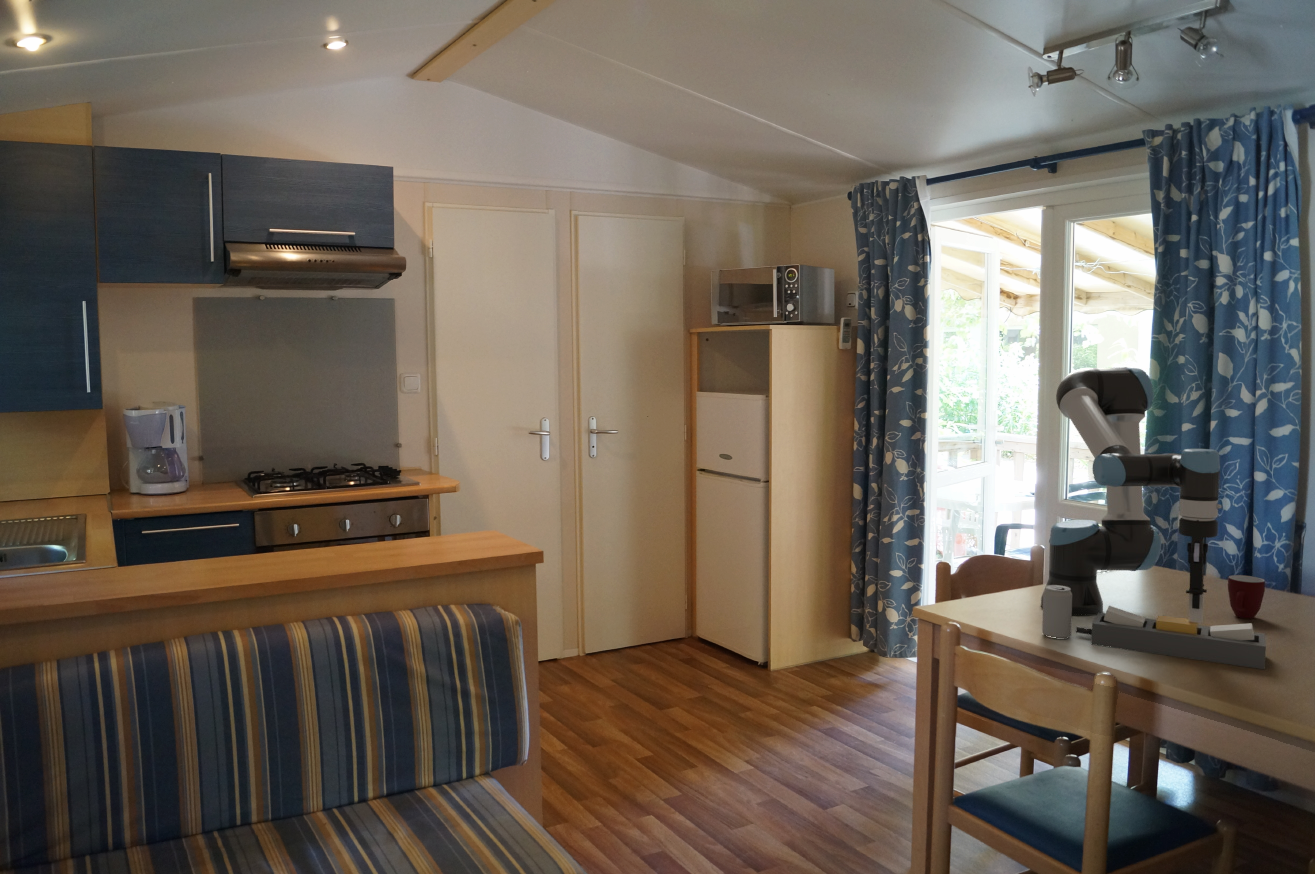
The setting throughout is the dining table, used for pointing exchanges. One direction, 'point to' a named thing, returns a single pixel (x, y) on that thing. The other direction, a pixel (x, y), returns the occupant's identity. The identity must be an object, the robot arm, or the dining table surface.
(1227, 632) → the rocker grey right
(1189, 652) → the power strip
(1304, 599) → the dining table surface
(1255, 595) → the mug
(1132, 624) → the rocker grey left
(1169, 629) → the rocker amber
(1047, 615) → the beverage can
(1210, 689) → the dining table surface
